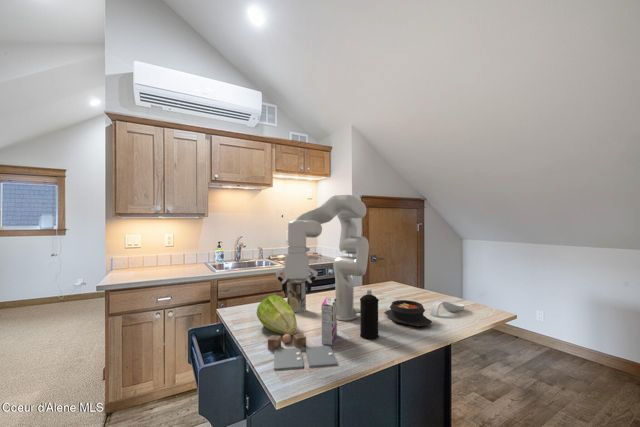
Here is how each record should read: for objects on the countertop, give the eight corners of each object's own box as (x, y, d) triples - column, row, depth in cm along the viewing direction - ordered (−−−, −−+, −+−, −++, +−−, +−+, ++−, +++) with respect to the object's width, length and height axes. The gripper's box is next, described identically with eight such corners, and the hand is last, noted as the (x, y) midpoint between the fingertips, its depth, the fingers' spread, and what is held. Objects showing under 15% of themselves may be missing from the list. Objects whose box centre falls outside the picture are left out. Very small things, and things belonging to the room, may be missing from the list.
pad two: (300, 349, 110) (300, 347, 110) (303, 367, 96) (303, 365, 96) (274, 351, 109) (274, 348, 109) (274, 370, 95) (274, 367, 95)
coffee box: (306, 309, 158) (306, 281, 159) (301, 313, 152) (301, 283, 153) (291, 307, 162) (291, 279, 162) (286, 311, 156) (286, 282, 156)
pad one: (330, 347, 112) (330, 345, 112) (337, 365, 98) (337, 362, 98) (305, 348, 110) (305, 346, 110) (309, 367, 97) (309, 365, 97)
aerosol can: (374, 341, 117) (374, 293, 118) (356, 337, 122) (356, 290, 122) (381, 334, 124) (381, 289, 125) (364, 330, 129) (364, 286, 129)
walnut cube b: (280, 346, 113) (280, 336, 113) (277, 350, 109) (277, 340, 109) (271, 345, 114) (271, 335, 114) (267, 349, 110) (267, 339, 110)
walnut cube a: (302, 343, 116) (302, 333, 116) (305, 347, 112) (306, 337, 112) (293, 344, 114) (293, 335, 114) (296, 349, 111) (296, 338, 111)
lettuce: (305, 342, 127) (273, 356, 118) (281, 310, 146) (252, 320, 137) (308, 316, 122) (274, 328, 113) (283, 286, 141) (252, 295, 132)
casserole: (440, 325, 136) (440, 307, 136) (415, 333, 126) (415, 314, 126) (400, 310, 157) (400, 295, 157) (376, 316, 147) (376, 300, 147)
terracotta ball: (290, 340, 118) (290, 332, 118) (291, 344, 114) (291, 335, 114) (282, 341, 117) (282, 332, 117) (282, 345, 114) (282, 336, 114)
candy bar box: (325, 333, 125) (326, 296, 125) (337, 334, 124) (337, 297, 124) (321, 344, 114) (321, 304, 114) (333, 345, 113) (333, 305, 113)
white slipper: (448, 306, 166) (448, 293, 166) (468, 311, 157) (468, 298, 157) (424, 313, 153) (424, 300, 153) (444, 320, 143) (444, 306, 143)
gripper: (317, 249, 120) (316, 290, 119) (276, 249, 118) (275, 290, 118) (318, 251, 112) (318, 294, 112) (275, 251, 111) (274, 295, 110)
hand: (296, 292), depth 115 cm, fingers open, 9 cm apart
